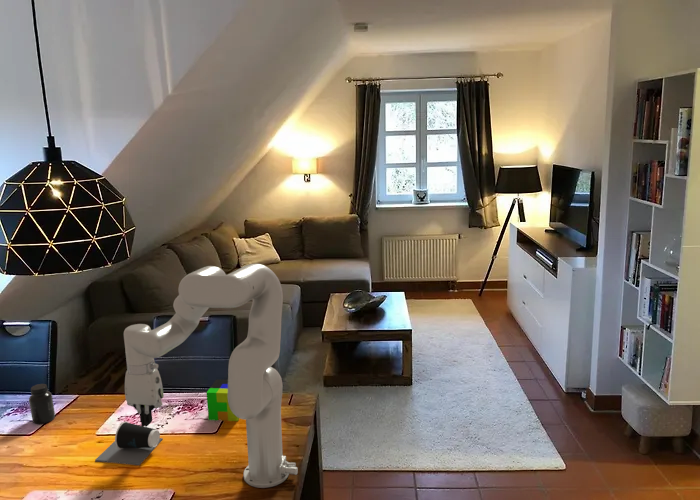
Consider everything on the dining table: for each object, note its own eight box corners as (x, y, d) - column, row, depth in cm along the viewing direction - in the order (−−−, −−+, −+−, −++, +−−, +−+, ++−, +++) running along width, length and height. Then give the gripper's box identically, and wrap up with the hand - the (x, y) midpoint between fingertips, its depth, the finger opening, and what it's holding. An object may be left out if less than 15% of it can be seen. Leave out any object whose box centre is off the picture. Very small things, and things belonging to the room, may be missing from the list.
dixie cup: (163, 422, 178) (131, 419, 181) (149, 427, 171) (116, 423, 173) (161, 449, 177) (128, 445, 180) (147, 455, 170) (113, 451, 172)
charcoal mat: (162, 439, 182) (162, 438, 182) (139, 465, 168) (139, 463, 168) (121, 436, 184) (121, 434, 184) (95, 461, 171) (95, 459, 171)
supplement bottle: (48, 412, 200) (44, 380, 197) (59, 418, 196) (54, 385, 193) (28, 421, 195) (23, 388, 192) (38, 427, 191) (33, 393, 188)
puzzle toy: (246, 406, 202) (244, 380, 200) (237, 421, 192) (236, 393, 190) (218, 405, 203) (216, 379, 201) (208, 420, 193) (206, 392, 191)
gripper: (171, 362, 171) (175, 419, 175) (124, 360, 174) (130, 416, 178) (158, 373, 164) (164, 432, 168) (110, 370, 167) (116, 428, 171)
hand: (146, 423), depth 173 cm, fingers closed
